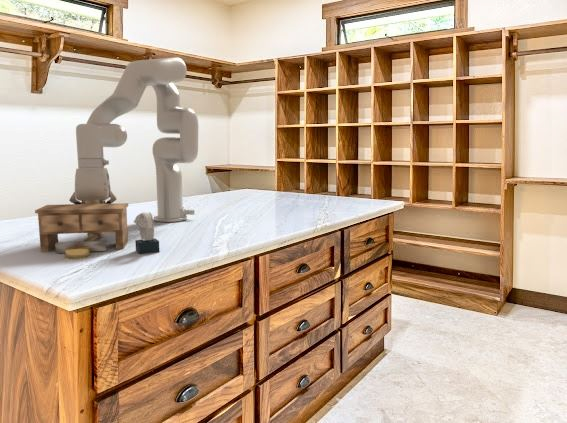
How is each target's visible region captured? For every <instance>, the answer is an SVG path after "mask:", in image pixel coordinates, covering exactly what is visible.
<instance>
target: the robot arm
mask: <svg viewBox="0 0 567 423" xmlns="http://www.w3.org/2000/svg"><path fill="white" fill-rule="evenodd" d="M187 68H188V67H187V65H186V63H185V61H184V60H183V59H182V58H180V57H176V56H175V57H173V56H172V57H163V58H162V57H160V58H159V57H158V58H151V59H140V60H133V61H131V62H129V63H128V64H127V65H126V67H125V69H124V71H123V73H122V74H121V77H120V79H119V81H118V83H117V85H116V87H115V89H114V91H113V92H112V94H111V95H109V97H106V99H105V100H104V101H103V102H101V103H100V104H98V106H96V108H94V110H93V111H92V112H91V114H90V116H89V117H88V119H87V121H86V123H79V124H77V125H76V127H75V137H76V153H77V155H76V156H77V168H76V169H75V175H74V191H73V193H72V195H71V196H70V198H69V202H70V203H72V204H85V200H99V202H100V204H114V202H115V201H117V197H116V195H115V194H114V193H113V192H112V189H111V181H110V175H109V170H108V168H107V167H105V166H107V165H109V164H110V161H109V160H107V159H105V157H104V156H105V155H104V148H118V147H122V146H123V145H124V144H125V143H126V142H127V139H128V133H127V130H126V129H125V128H124V127H123V126H122V125H121V124H118V123H112V122H113V121H115V120H116V119H117V118H118V117H121V116H124V115H126V114H128V113H129V112H131V111H134V110H135V109H136V108H137V107H138V106H139V103H140V101H141V98H142V96H143V95H144V92H145V91H146V89H147V87H148V86H151V87H152V89H153V90H154V92H155V96H156V126H157V129H158V131H159V132H160V133H162V134H167V135H169V134H170V135H173V134H175V135H179V137H174V136H173V137H171V136H170V137H169V136H168V137H165V136H164V137H160V138H158V139H156V140H155V142H154V143H153V144H152V156H153V160H154V164H155V175H156V199H157V202H156V204H157V215H155V216H154V217H153V221H155V222H159V223H161V222H162V223H175V222H176V223H177V222H183V221H186V220H187V219H188V215H189V216H194V215H195V209H186V208H184V206H183V204H184V203H183V176H182V175H183V173H182V171H181V168H180V166H179V165H178V164H192V163H193V162H195V161H196V159H197V157H198V155H199V154H198V153H199V119H198V115H197V114H196V112H195V111H194V110H193V109H191V108H189V107H181V101H180V98H181V97H180V93H179V89H177V86H176V85H175V83H180V82H182V81H183V80H184V79H185V78H186V77H187V73H188V69H187ZM106 200H107V201H106Z"/></svg>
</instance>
